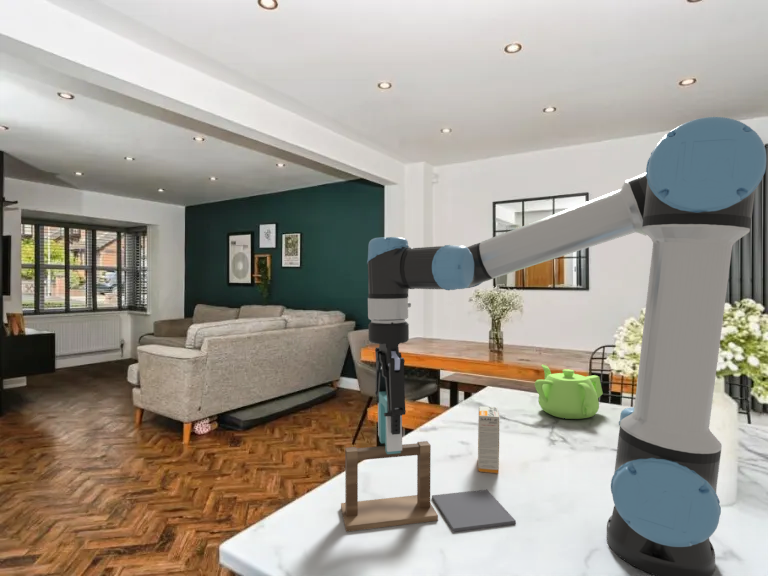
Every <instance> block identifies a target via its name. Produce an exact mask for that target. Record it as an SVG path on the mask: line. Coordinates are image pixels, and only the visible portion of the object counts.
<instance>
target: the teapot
mask: <svg viewBox="0 0 768 576" xmlns="http://www.w3.org/2000/svg"><path fill="white" fill-rule="evenodd" d="M540 366H541V367H542V369H543V371H544V373H543V374H544V379H536V380H535V382H534V387H535V391H536V392H537V394H538V404H539V407H540V408H541V410H542V411H543V412H545V413H547V414H549V415H551V416H553V417H556V418H561V419H564V418H565V419H566V420H570V419H571V420H574V419H575V420H576V419H578V420H580V419H588V418H593V417H594V416H595V415H596V414H597V412H598V411H599V409H600V403H599V398H600V397H601V396H602V395H603V394H604V393H603V388H602V384H601V379H600V376H598V375H596V374H594V375H588V376H585V375H581V374H578V373H575V370H574V369H569V368H567V369H566V368H565V369H562V370H561V371H562V372H559V373H558V372H557V373H552V372H551V369H550V368H549V366H548V365H545V364H541V365H540Z"/></svg>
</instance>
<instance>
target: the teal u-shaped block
mask: <svg viewBox="0 0 768 576" xmlns="http://www.w3.org/2000/svg"><path fill="white" fill-rule="evenodd" d="M378 403H379V436H378V438H379V440H378V441H379V442H380V444H384V446H385V451H386V453H387V454H397V453H401V451H392V452H387V433H386V417H385V416H384V413H388V407H387V395H386V391H381V392H379V401H378Z"/></svg>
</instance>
